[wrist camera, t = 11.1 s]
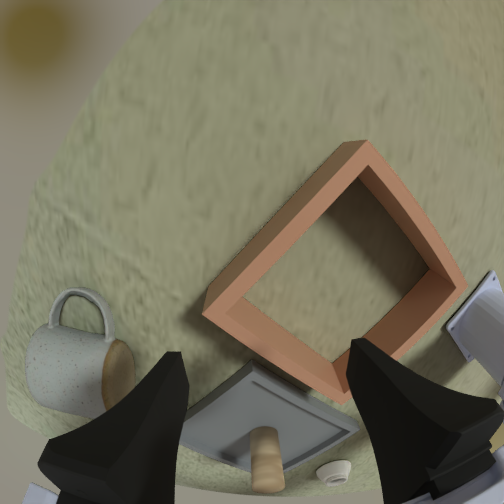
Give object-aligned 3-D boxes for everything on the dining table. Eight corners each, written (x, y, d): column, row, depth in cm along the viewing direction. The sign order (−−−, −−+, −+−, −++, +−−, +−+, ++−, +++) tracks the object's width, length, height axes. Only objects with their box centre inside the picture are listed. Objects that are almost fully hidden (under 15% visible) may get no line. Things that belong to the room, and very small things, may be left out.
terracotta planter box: (441, 267, 21) (468, 285, 17) (330, 374, 24) (341, 405, 20) (343, 141, 18) (367, 139, 14) (208, 286, 21) (201, 314, 17)
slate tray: (356, 420, 27) (360, 429, 26) (270, 470, 30) (271, 478, 29) (252, 359, 23) (252, 371, 22) (165, 426, 26) (163, 436, 25)
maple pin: (283, 432, 26) (291, 485, 19) (264, 443, 27) (268, 495, 20) (263, 422, 25) (268, 479, 19) (243, 435, 26) (245, 489, 19)
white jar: (354, 464, 31) (342, 454, 30) (359, 478, 28) (347, 470, 27) (324, 476, 32) (309, 468, 31) (327, 491, 29) (313, 484, 28)
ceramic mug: (144, 385, 24) (123, 445, 17) (74, 371, 24) (42, 421, 16) (127, 285, 21) (84, 339, 14) (48, 277, 21) (-4, 318, 13)
